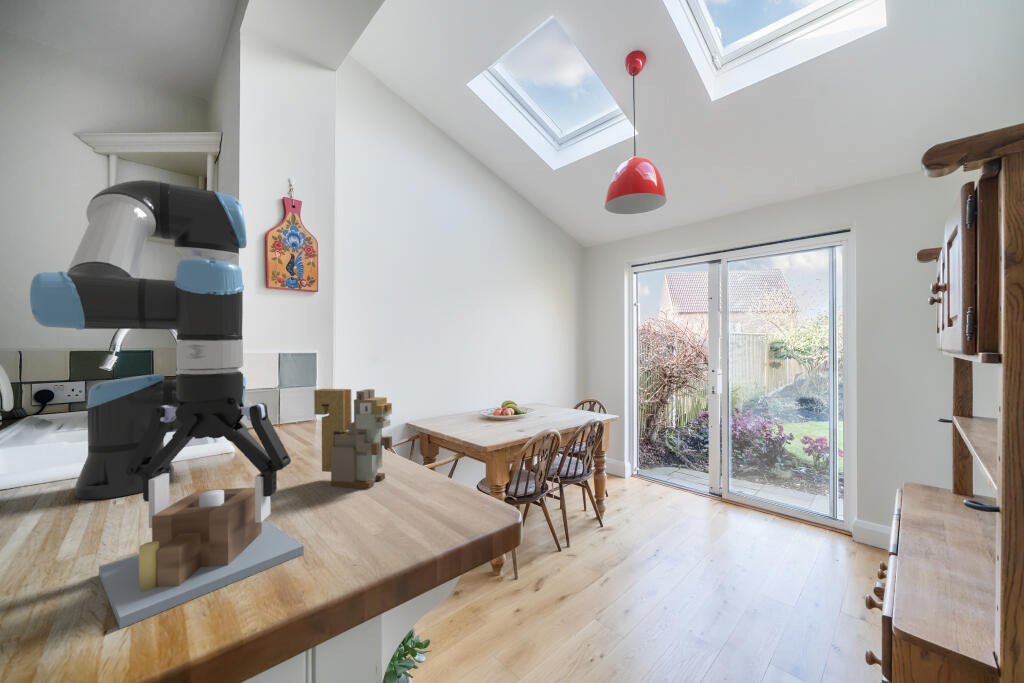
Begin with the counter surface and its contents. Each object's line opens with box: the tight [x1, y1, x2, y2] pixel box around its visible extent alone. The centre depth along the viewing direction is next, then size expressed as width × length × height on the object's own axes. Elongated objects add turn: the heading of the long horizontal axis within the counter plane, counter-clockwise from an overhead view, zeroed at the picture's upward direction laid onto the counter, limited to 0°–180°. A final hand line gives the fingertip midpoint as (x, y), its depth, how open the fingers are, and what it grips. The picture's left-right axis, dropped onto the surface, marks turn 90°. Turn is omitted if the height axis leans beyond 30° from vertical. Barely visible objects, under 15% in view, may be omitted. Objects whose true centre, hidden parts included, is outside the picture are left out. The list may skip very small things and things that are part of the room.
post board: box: [98, 489, 305, 630], centre depth 55 cm, size 16×19×9 cm
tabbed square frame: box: [151, 487, 262, 587], centre depth 54 cm, size 13×9×7 cm
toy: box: [313, 388, 393, 490], centre depth 87 cm, size 6×17×20 cm, turn 78°
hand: (211, 520), depth 57 cm, fingers open, 13 cm apart
